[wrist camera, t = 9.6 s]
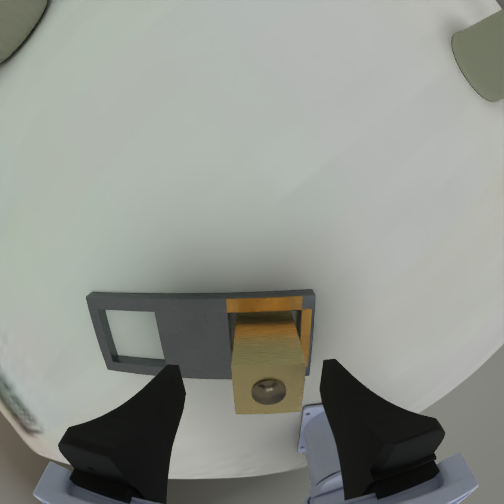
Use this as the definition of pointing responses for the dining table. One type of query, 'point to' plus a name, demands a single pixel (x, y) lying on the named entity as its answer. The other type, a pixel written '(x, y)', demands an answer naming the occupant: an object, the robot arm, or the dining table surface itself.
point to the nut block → (267, 363)
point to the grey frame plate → (195, 327)
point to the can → (483, 56)
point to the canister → (17, 23)
